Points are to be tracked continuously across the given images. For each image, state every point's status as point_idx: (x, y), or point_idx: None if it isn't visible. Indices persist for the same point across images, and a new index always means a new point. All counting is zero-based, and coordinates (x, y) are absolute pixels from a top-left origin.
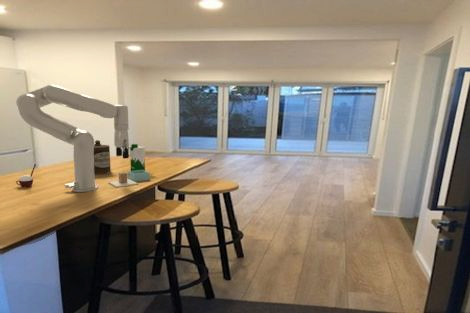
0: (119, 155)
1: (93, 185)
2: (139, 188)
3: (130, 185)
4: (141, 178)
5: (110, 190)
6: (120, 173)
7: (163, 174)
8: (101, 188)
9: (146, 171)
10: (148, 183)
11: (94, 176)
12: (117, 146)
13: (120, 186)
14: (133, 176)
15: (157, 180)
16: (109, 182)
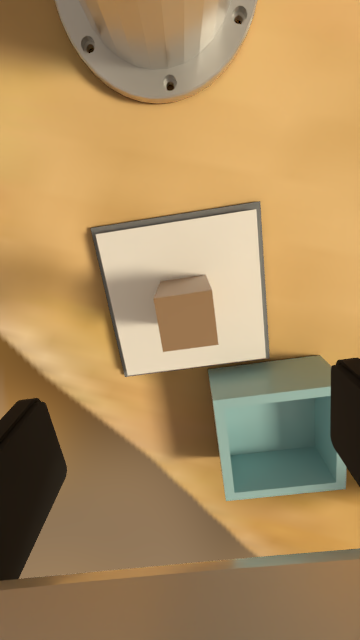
0: (332, 408)
1: (103, 36)
2: (41, 358)
3: (116, 328)
4: (215, 425)
5: (51, 181)
6: (182, 301)
7: (324, 551)
8: (135, 128)
9: (267, 493)
10: (144, 430)
11: (115, 3)
12: (103, 593)
13: (104, 263)
14: (219, 389)
15: (194, 487)
16: (241, 211)
